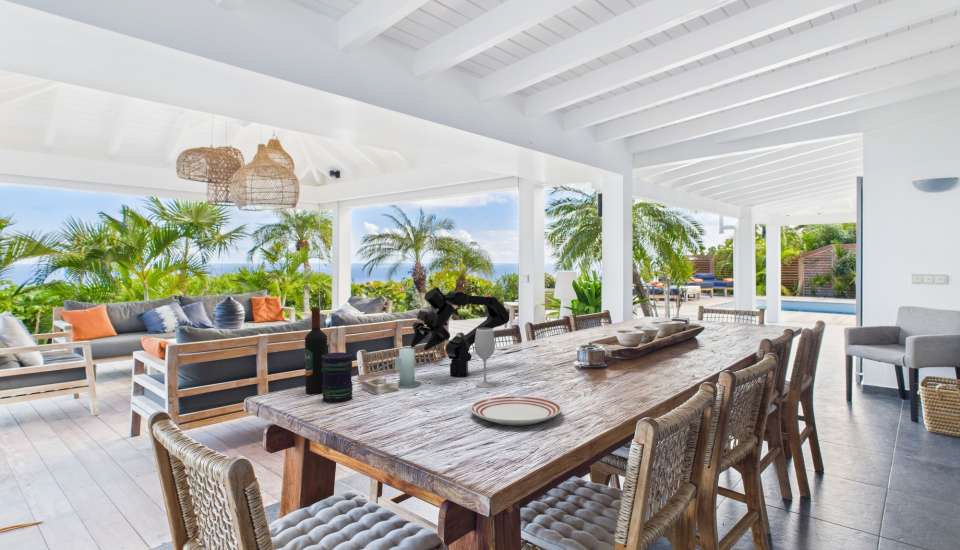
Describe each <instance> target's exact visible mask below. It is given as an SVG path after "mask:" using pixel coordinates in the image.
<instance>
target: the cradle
mask: <svg viewBox="0 0 960 550" xmlns="http://www.w3.org/2000/svg"><path fill="white" fill-rule="evenodd" d="M362 389H363V390H362ZM361 390H362V391H365V392H367V391H368V392H367V393H369V392H370V393H369V394H372V393H373V394H372V395H374V394H378V395H381V394H380V393H383V394H386V393H385V392H388V393H392V392H391V391H393V392H397V391H396V390H398V391H399V388H398V381H393V382H388V383H387V377H378V378H373V379H367V380H361Z"/></svg>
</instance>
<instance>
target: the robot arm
mask: <svg viewBox="0 0 960 550" xmlns="http://www.w3.org/2000/svg"><path fill="white" fill-rule="evenodd" d="M424 300H425V301H426V302H427V303H428V304H429V306H431V307H432V309H434V310H436V309H437V310H436V312H435V311H432V310H429V311H428V312H427V311H422V310H419V311H418V313H417V316H416V319H417V320H419V321H421V322H419V321H415V322H414V323H413V324H412V325H411V326H412V330H413V331H414V334H413V337H412V340H411V343H410V348H414V347H416V346H417V345H418V344H419V343H421V342H422V341H423V340H424V339H425V338H426V337H427V336H428V335H429V334H431V335H430V338H429V339H428V341H427V342H426V344H425V346H424V347H423V350H424V351H428V350H430V349H431V348H434V347H436V346H438V345H439V344H441V343H445V342H447V343H446V345H445V353H446V354H447V356H448V359H449V360H450V361H451V362H450V364H449V374H450V375H449V376H450V377H460V378H461V377H463V378H466V377H468V376H469V374H470V372H469V362H471V360H472V358H473V357H472V354H471V353H470V352H469V351H470V348H471V346H472V345H475V336H476V330H477V328H492V329H493V330H494V329H495V328H498V327H502V326H504V325H506V324H508V323H509V321H510V318H511V316H510V312H509V311H508V310H507V309H506V307H505V306H504V305H503V304H502V303H500V302H499V300H498V298H497V297H495V296H490V295H489V296H482V295H481V296H480V295H472V294H468V293H466V292H463V291H457V290H456V291H455V290H449V291H448V292H447V293H446V294H444V293H443V292H442V291H441V289H440V288H439V287H437V286H435V287H434V288H432V289H431V290H429V291H428V292H426V294H425V295H424ZM468 305H477V306H478V305H479V306H485V307H486V312H487V313H488V314H487V317H486V319H485V320H484V321H483V322H481V323H480V324H479V325H477V326H476V327H474V328H473V329H472V330H470V331H469V332H468V333H466V334H465V335H464V336H463V337H462V336H458V335H455V336H454V337H453V338H452V339H450V338H451V333H450V332H449V331H448V329H446V327H447V326H448V321H449V320H450V318H451V317H452V316H459V310H458V308H456V306H457V307H462V306H468ZM454 306H455V307H454ZM422 321H423V322H422Z"/></svg>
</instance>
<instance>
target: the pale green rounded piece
mask: <svg viewBox="0 0 960 550" xmlns="http://www.w3.org/2000/svg"><path fill="white" fill-rule="evenodd" d="M398 352H399V353H398V356H399V357H394V371H399V378H398V379H399V380H398V381H399V382H400V385H403V386H410V385H414V384H415V381H416V380H415V348H414V347H402V348H399V349H398Z"/></svg>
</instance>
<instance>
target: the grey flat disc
mask: <svg viewBox="0 0 960 550" xmlns="http://www.w3.org/2000/svg"><path fill="white" fill-rule="evenodd" d="M397 382H398V389H399V388H410V389H416V388H419V387H421V386H422V385H421V384H422V382H421V381H419V380H415V384H414V385H410V386H403V385H400V382H399V380H398V381H397ZM420 385H421V386H420ZM418 386H419V387H418ZM415 387H416V388H415Z"/></svg>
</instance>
